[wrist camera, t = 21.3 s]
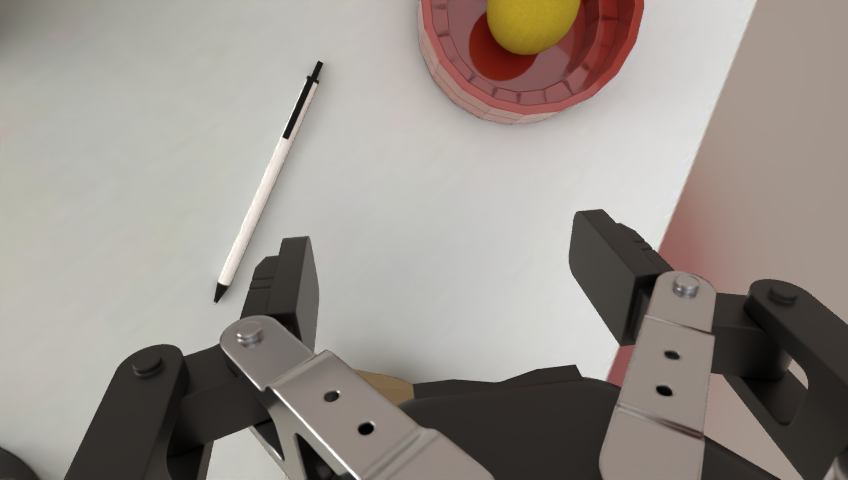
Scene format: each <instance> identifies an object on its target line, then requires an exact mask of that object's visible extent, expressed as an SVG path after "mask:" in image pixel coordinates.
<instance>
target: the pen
mask: <svg viewBox="0 0 848 480" xmlns="http://www.w3.org/2000/svg"><path fill="white" fill-rule="evenodd" d="M322 65H323V63H322V62H320V61H318V62H317V65H316V67H315V69H314V71H313V74H312V76H311V77H310V76H307V78H306V81H305V83H304V85H303V87H302V90H301V92H300V94H299V97H298V99H297V101H296V103H295V106H294V108H293V110H292V113H291V115H290V117H289V119H288V122H287V124H286V126H285V129H284V131H283V133H282V135H281V138H280V140H279V142H278V145H277V147H276V149H275V151H274V154H273V156H272V158H271V161H270V163H269V165H268V167H267V170H266V172H265V174H264V177H263V179H262V181H261V184H260V186H259V188H258V190H257V193H256V195H255V197H254V200H253V202H252V204H251V206H250V209H249V211H248V213H247V216H246V218H245V220H244V222H243V225H242V227H241V229H240V232H239V234H238V236H237V238H236V241H235V243H234V245H233V248H232V250H231V252H230V254H229V257H228V259H227V261H226V264H225V266H224V268H223V270H222V273H221V275H220V277H219V280H218V283H217V288H216V293H215V298H214V305H215V304H216V303H217V302H218V301H219V299H220V298H221V297H222V295H223V294H224V293H225V291H226V290H227V288H228V287H229V286H230V284H231V281H232V279H233V277H234V274H235V272H236V270H237V268H238V265H239V263H240V261H241V258H242V256H243V254H244V252H245V249H246V247H247V245H248V243H249V240H250V238H251V236H252V233H253V231H254V229H255V227H256V224H257V222H258V220H259V217H260V215H261V213H262V211H263V208H264V206H265V204H266V202H267V199H268V197H269V195H270V192H271V190H272V188H273V186H274V183H275V181H276V179H277V177H278V174H279V172H280V170H281V167H282V165H283V163H284V161H285V158H286V156H287V154H288V151H289V149H290V147H291V145H292V142H293V140H294V138H295V136H296V133H297V131H298V129H299V126H300V124H301V122H302V120H303V117H304V115H305V113H306V110H307V108H308V106H309V104H310V101H311V99H312V97H313V95H314V92H315V90H316V88H317V85H318V83H319V81H318V80H316V79H317V76H318V74H319V72H320V69H321V67H322Z"/></svg>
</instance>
